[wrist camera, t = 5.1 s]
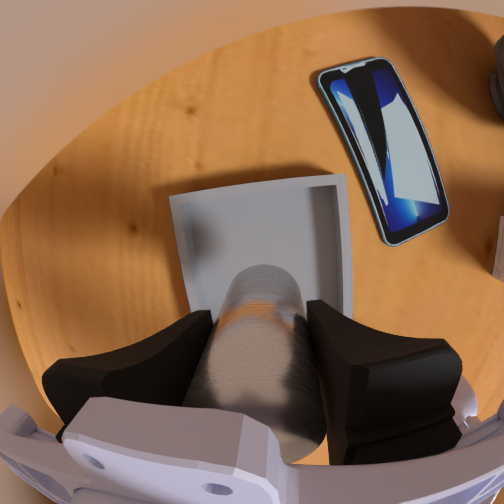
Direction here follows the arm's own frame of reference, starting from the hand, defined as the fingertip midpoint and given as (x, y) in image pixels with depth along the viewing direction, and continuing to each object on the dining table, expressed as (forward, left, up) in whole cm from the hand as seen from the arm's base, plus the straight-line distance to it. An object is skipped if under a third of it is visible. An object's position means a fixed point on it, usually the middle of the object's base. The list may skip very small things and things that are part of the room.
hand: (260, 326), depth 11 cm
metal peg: (0, 0, -3) cm, 4 cm away
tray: (0, 0, -10) cm, 10 cm away
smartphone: (-11, -8, -11) cm, 17 cm away
